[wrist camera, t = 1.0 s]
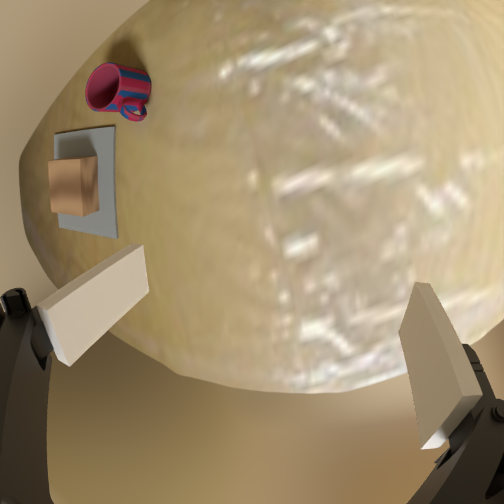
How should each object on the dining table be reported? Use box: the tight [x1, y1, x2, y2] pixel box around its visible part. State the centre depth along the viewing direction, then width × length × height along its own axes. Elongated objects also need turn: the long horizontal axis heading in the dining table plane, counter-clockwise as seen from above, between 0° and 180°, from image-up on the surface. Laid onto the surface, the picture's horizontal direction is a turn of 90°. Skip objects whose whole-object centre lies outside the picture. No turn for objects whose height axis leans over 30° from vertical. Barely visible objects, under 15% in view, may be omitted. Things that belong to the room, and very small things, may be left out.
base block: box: [48, 156, 100, 217], centre depth 39 cm, size 9×9×4 cm
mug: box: [85, 63, 151, 121], centre depth 31 cm, size 7×10×7 cm
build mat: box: [54, 127, 118, 239], centre depth 41 cm, size 18×16×1 cm
